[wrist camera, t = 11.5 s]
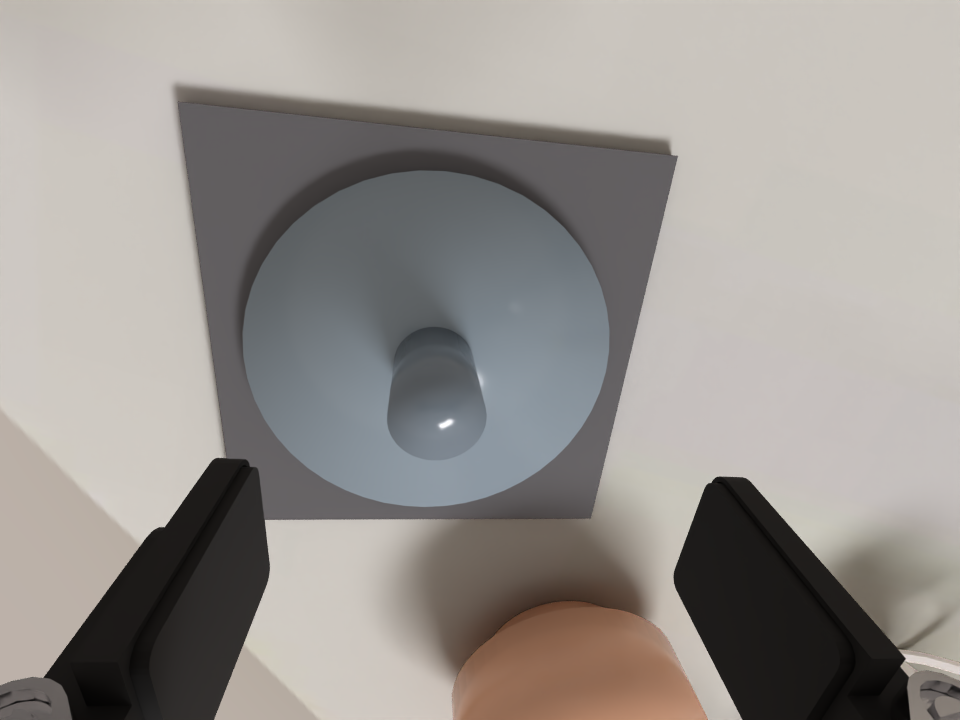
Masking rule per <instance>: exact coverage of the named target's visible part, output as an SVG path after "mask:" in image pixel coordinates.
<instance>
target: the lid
mask: <svg viewBox="0 0 960 720" xmlns="http://www.w3.org/2000/svg"><path fill="white" fill-rule="evenodd" d="M608 355H609V322H608V314H607V307H606V304H605V300H604V296H603V293H602V289H601V286H600V283H599V281H598V279H597V277H596V274H595V272H594V270H593V267H592V265H591V264H590V262H589V260H588V259H587V257H586V255H585V254H584V252H583V251H582V249H581V247H580V246H579V245H578V243H577V242H576V241H575V240H574V239H573V237H572V236H571V235H570V234H569V233H568V231H567V230H566V229H565V228H564V227H563V226H562V225H561V224H560V223H559V222H558V221H557V220H555V219H554V218H553V217H552V216H551V215H550V214H549V213H548V212H547V211H545V210H544V209H542V208H541V207H539V206H538V205H536V204H535V203H533V202H532V201H530V200H529V199H527V198H526V197H524V196H523V195H521V194H519V193H517V192H515V191H513V190H510V189H508V188H506V187H504V186H502V185H500V184H498V183H495V182H492V181H489V180H486V179H483V178H479V177H476V176H473V175H468V174H462V173H456V172H450V171H438V170H414V171H405V172H396V173H390V174H386V175H382V176H378V177H374V178H370V179H366V180H364V181H361V182H359V183H356V184H354V185H352V186H349V187H347V188H345V189H342V190H340V191H338V192H337V193H335V194H333V195H332V196H330V197H328V198H327V199H325V200H323V201H322V202H320V203H318V204H317V205H315V206H314V207H312V208H311V209H310V210H309V211H308V212H306V213H305V214H304V215H303V216H301V217H300V218H299V219H298V220H297V221H295V222H294V223H293V224H292V225H291V226H290V228H289V229H288V230H287V231H286V232H285V233H284V234H283V235H282V236H281V238H280V239H279V240H278V241H277V242H276V243H275V245H274V246H273V248H272V249H271V251H270V253H269V254H268V256H267V257H266V259H265V260H264V262H263V263H262V265H261V267H260V270H259V272H258V274H257V276H256V278H255V281H254V283H253V285H252V288H251V291H250V295H249V298H248V302H247V305H246V309H245V317H244V325H243V358H244V363H245V368H246V374H247V379H248V382H249V385H250V388H251V391H252V394H253V397H254V400H255V402H256V404H257V406H258V408H259V410H260V412H261V414H262V416H263V418H264V420H265V421H266V423H267V424H268V425H269V427H270V428H271V430H272V431H273V433H274V434H275V436H276V437H277V438H278V439H279V441H280V442H281V443H282V444H283V445H284V446H285V447H286V448H287V449H288V451H289V452H290V453H291V454H292V455H293V456H295V457H296V458H297V459H298V460H299V461H300V462H301V463H303V464H304V465H305V466H306V467H307V468H309V469H310V470H311V471H313V472H314V473H316V474H317V475H319V476H320V477H322V478H323V479H325V480H327V481H328V482H330V483H332V484H334V485H336V486H338V487H340V488H342V489H344V490H346V491H349V492H351V493H354V494H357V495H359V496H362V497H365V498H368V499H372V500H376V501H380V502H383V503H389V504H396V505H402V506H416V507H434V506H448V505H455V504H461V503H467V502H471V501H474V500H478V499H482V498H486V497H488V496H491V495H494V494H496V493H499V492H502V491H504V490H506V489H508V488H510V487H512V486H514V485H516V484H518V483H520V482H522V481H524V480H525V479H527V478H529V477H530V476H532V475H533V474H535V473H536V472H538V471H539V470H541V469H542V468H543V467H544V466H546V465H547V464H548V463H549V462H551V461H552V460H553V459H554V458H555V457H556V456H557V455H558V454H559V453H560V452H561V451H562V450H563V449H564V448H565V447H566V446H567V445H568V444H569V443H570V442H571V440H572V439H573V438H574V437H575V435H576V434H577V433H578V431H579V430H580V429H581V428H582V426H583V424H584V423H585V421H586V419H587V417H588V416H589V414H590V412H591V411H592V409H593V407H594V404H595V402H596V400H597V397H598V395H599V393H600V390H601V387H602V383H603V380H604V377H605V373H606V368H607V361H608Z"/></svg>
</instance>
